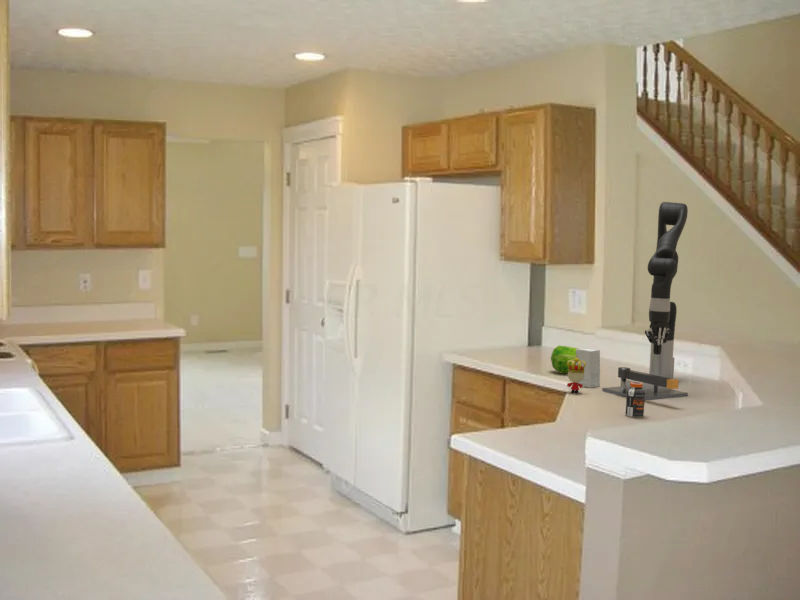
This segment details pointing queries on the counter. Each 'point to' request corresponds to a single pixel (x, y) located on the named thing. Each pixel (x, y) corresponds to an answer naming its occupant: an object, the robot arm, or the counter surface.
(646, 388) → the block
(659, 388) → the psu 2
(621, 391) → the tray
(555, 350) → the lettuce
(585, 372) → the skincare box
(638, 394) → the pill bottle
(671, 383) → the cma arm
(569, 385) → the toy
